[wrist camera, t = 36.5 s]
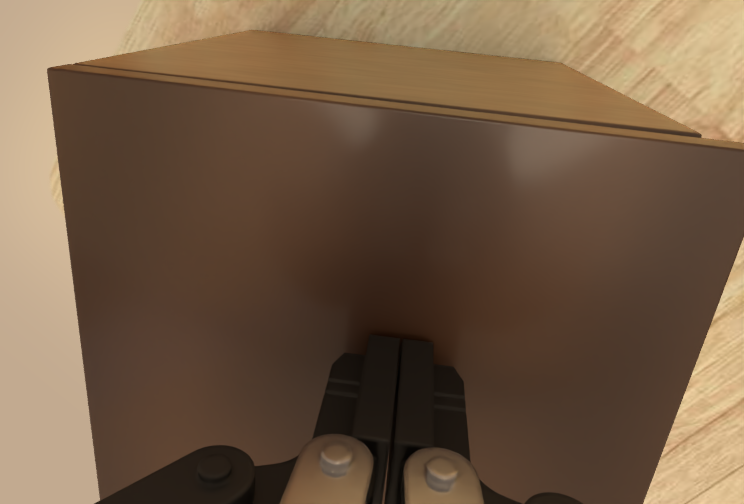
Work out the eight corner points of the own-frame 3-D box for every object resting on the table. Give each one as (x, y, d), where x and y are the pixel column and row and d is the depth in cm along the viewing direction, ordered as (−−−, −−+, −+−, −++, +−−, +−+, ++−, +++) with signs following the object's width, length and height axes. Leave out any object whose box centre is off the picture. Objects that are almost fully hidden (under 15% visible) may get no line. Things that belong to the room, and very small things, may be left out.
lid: (756, 144, 12) (776, 153, 11) (603, 566, 17) (610, 592, 16) (68, 63, 13) (45, 67, 12) (114, 483, 18) (99, 504, 17)
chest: (562, 63, 25) (704, 133, 12) (509, 308, 30) (570, 547, 17) (251, 29, 26) (68, 62, 13) (248, 275, 31) (114, 482, 18)
